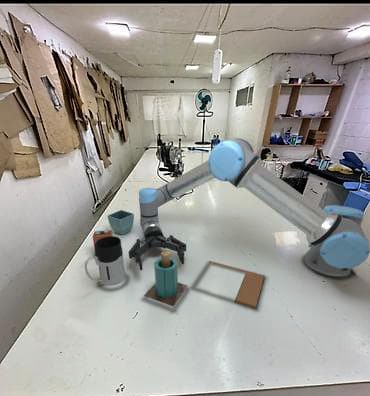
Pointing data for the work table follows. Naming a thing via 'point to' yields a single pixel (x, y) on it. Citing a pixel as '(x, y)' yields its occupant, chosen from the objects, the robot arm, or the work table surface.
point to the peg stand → (152, 292)
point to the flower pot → (121, 221)
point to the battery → (100, 236)
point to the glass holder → (109, 261)
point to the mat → (247, 287)
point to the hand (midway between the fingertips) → (162, 263)
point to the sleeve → (166, 279)
